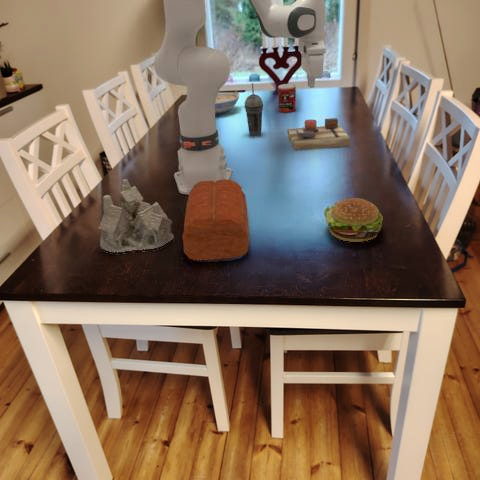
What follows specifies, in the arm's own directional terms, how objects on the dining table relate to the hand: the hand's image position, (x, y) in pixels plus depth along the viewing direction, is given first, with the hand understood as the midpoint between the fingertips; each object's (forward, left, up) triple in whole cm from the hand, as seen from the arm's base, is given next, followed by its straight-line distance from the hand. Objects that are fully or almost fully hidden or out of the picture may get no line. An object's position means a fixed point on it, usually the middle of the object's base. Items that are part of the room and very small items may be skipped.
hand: (310, 86), depth 165 cm
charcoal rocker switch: (-7, +3, -15) cm, 16 cm away
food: (-71, +3, -19) cm, 74 cm away
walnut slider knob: (+1, -8, -16) cm, 18 cm away
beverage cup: (+10, +20, -19) cm, 30 cm away
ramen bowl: (+48, +35, -19) cm, 62 cm away
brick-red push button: (0, 0, -15) cm, 15 cm away
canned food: (+41, +3, -19) cm, 45 cm away
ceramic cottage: (-67, +56, -20) cm, 89 cm away
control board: (-3, -2, -19) cm, 20 cm away
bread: (-66, +36, -20) cm, 78 cm away
